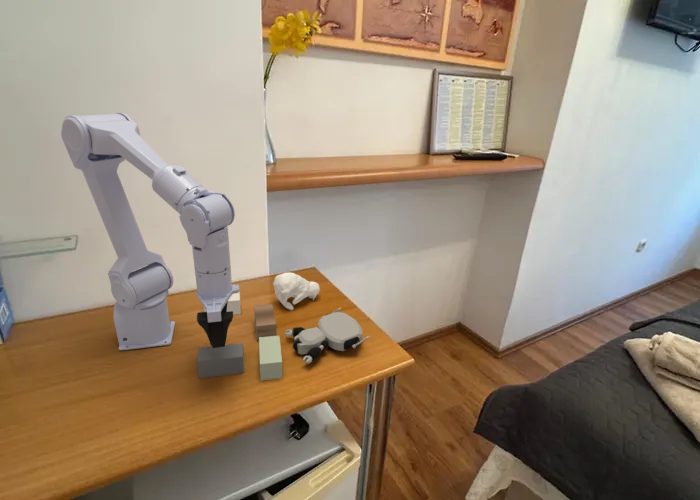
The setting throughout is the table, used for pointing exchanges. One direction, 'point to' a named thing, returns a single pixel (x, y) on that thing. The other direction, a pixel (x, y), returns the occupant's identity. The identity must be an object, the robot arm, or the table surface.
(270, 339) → the sage brick
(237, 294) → the off-white brick
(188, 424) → the table surface
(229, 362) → the charcoal brick
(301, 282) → the white animal figurine
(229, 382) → the table surface
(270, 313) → the walnut brick
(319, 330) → the robot toy
